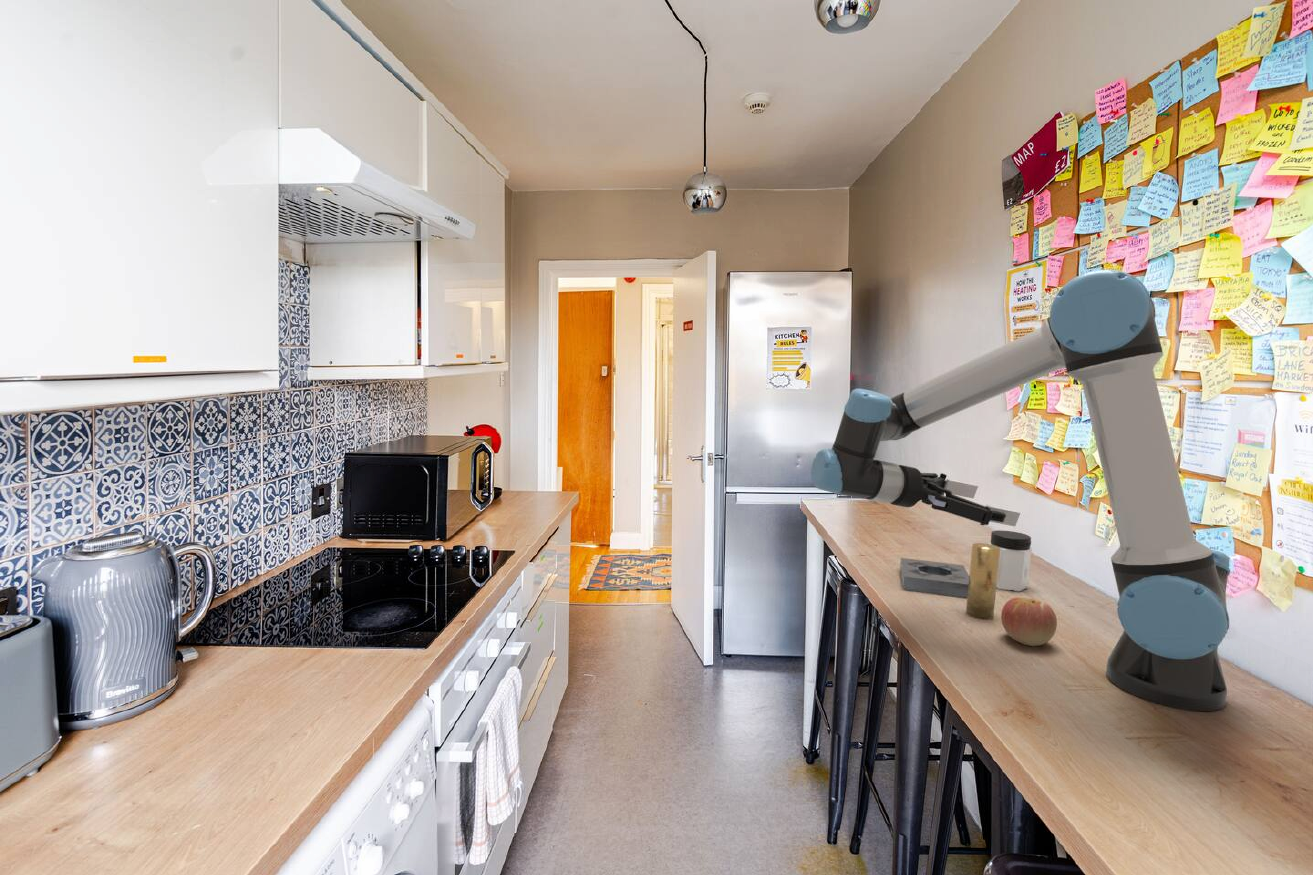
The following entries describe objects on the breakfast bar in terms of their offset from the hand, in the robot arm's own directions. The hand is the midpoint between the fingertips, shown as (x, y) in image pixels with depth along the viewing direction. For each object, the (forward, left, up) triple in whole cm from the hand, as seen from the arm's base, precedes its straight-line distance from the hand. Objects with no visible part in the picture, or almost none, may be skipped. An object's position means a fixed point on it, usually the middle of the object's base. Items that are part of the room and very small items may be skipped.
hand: (994, 504), depth 130 cm
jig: (+23, +7, -23) cm, 33 cm away
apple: (-7, -6, -24) cm, 25 cm away
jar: (+29, -9, -23) cm, 38 cm away
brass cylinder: (+5, 0, -23) cm, 24 cm away
